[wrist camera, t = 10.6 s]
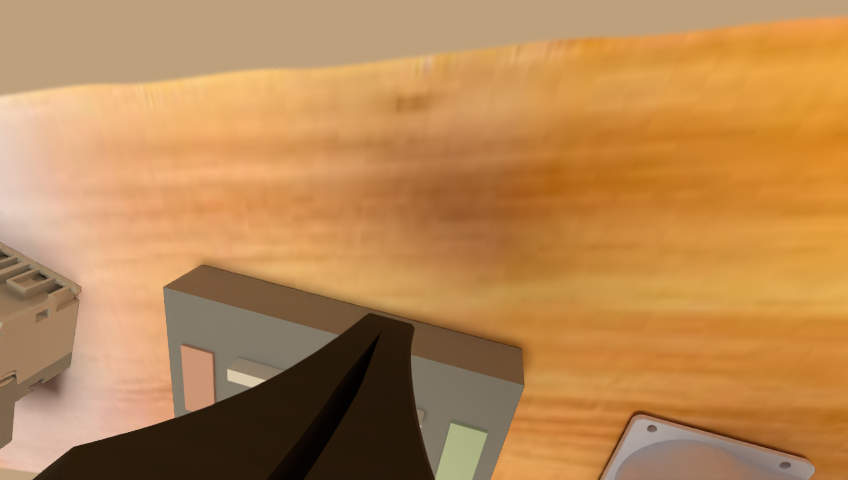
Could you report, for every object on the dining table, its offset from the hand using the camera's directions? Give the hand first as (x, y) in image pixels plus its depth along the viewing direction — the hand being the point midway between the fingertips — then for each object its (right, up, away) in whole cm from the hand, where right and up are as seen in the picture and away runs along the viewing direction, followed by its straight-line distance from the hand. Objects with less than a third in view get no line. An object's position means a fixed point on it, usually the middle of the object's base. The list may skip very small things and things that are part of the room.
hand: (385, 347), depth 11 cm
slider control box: (-4, -6, +15) cm, 16 cm away
